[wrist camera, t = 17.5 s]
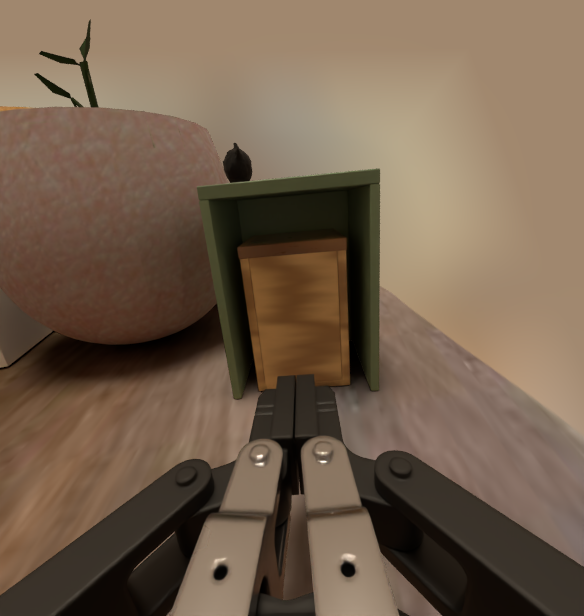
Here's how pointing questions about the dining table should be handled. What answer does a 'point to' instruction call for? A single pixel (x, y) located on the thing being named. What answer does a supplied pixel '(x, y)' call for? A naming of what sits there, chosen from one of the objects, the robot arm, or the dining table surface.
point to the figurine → (237, 165)
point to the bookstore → (17, 331)
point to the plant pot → (105, 218)
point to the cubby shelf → (294, 218)
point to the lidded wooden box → (297, 305)
